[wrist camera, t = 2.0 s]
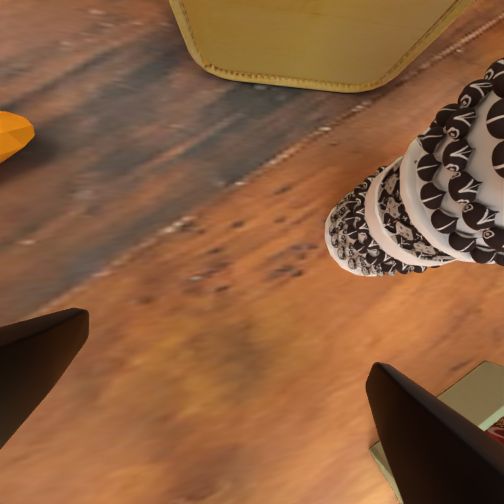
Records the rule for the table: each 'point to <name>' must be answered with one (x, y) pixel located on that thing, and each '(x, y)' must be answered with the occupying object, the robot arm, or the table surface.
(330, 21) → the picnic basket
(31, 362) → the robot arm
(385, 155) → the table surface
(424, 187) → the decorative candle
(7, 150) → the corn
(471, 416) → the green square tray
